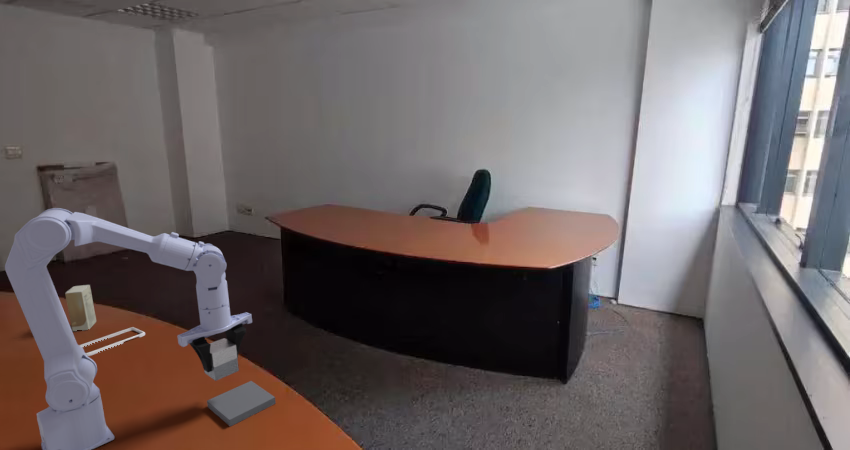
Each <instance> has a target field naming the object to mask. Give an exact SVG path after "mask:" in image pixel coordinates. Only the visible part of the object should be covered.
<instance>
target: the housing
mask: <svg viewBox="0 0 850 450" xmlns="http://www.w3.org/2000/svg"><path fill="white" fill-rule="evenodd" d="M209 344H211V346H210V361H211V372H207V371H205V370H204V369H203V370H204V372H203V373H204V374H205V375H207V376H208V377H210V378H211V379H212V380H214V381H215V382H217V381H219V380H222V379H223V378H226V377H228V376H230V375H233V374H235V373H238V372H239V371H240V368H239V360H238V359H239V358H238V359H237V350H236V345H235V344H234V343H232V342H230V341H229V340H227V338H221V339H218V340H215V341H213V342H210V343H209Z"/></svg>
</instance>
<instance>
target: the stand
mask: <svg viewBox="0 0 850 450" xmlns="http://www.w3.org/2000/svg"><path fill="white" fill-rule="evenodd" d="M276 404H277V403H276V397H275V396H274V395H273V394H271V393H270V392H268V391H267V390H265V389H264V388H263V387H261V386H259V385H258V384H257V383H255V382H254V381H252V380H250V381H248V382H246V383H243V384H240V385H239V386H237V387H234V388H232V389H230V390H228V391H225V392H223V393H221V394H218V395H216V396H214V397H212V398H209V399H208V400H206V406H207V408H208V409H210V410H211V412H213V413H214V414H215V415H216V416H217V417H218V418H220V419H221V420H222V422H224V423H225V424H227V425H228V426H229V427H232V426H234V425H236V424H238V423H240V422H243V421H244V420H246V419H248V418H250V417H252V416H254V415H256V414H257V413H259V412H262V411H264V410H265V409H267V408H269V407H271V406H273V405H276Z"/></svg>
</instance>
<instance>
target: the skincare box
mask: <svg viewBox="0 0 850 450" xmlns="http://www.w3.org/2000/svg"><path fill="white" fill-rule="evenodd" d="M64 294H65V300H66V305H67V310H68V314H69V315H68V316H69V319H70V320H69V321H70V327H71V330H72V332H78V331H77V330H82V331H88V329H89V330H90V329H91V328H92V327H93V326H94V325H95V324H96V323H97V316H96V312H95V307H94V301H93V295H92V289H91V284H83V285H75V286H72V287H71V288H70V289H68V290H67V291H65V293H64Z"/></svg>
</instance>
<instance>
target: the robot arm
mask: <svg viewBox="0 0 850 450" xmlns="http://www.w3.org/2000/svg"><path fill="white" fill-rule="evenodd" d="M179 236H180V235H179V233H177V232H174V231H172V232H171V233H170V234H168V233H166V232H164V233H160V234H158V235H155V236H153V235H149V234H146V233H144V232H140V231H139V230H138V231H137V230H135V229H132V228H128V227H126V226H122V225H120V224H117V223H114V222H111V221H108V220H105V219H103V218H99V217H96V216H93V215H90V214H88V213H87V214H86V213H83V212H78V211H74V212H72V211H70V210H69V209H65V208H60V207H53V208H48V209H46V210H43V211H42V212H41V213H40V214H39V215H37V216H36V217H34V218H31V219H30V220H28V221H27V222H26V223H25V224H24V225H22V227H21V228H20V229H19V230H18V231H17V232H16V233H15V234H14V238H13V243H12V245H11V249H10V251H9V254H8V257H7V259H6V262H5V265H4V270H5V272H6V275H7V277H8V280H9V282H10V285H11V287H12V289H13V291H14V293H15V297H16V298H17V301H18V304H19V306H20V307H21V311H22V312H23V315H24V318H25V320H26V321H27V324H28V326H29V329H30V332H31V334H32V336H33V338H34V341H35V343H36V345H37V347H38V350H39V352H40V354H41V357H42V359H43V368H44V369H43V370H44V371H43V372H44V373H43V374H44V375H43V376H44V380H45V384H46V392H45V401H46V403H47V404H48V407H46V408H45V409H43V410H41V411H39V412H36V421H37V424H38V425H37V426H38V428H39V429H38V430H39V435H40V437H41V438H40V440H41V442H40V444H41V450H94V449H96V448H98V447H100V446H102V445H104V444H107V443H109V442H111V441H113V440H115V435H114V434H113V432H112V431H111V429H110V428H109V427H108V425H107V423H106V418H105V413H104V409H103V408H104V406H103V401H102V397H101V396H102V395H101V392H100V388H99V387H98V386H97V385H96V384H95V383H94V379H95V378H96V376H97V373H98V366H97V363H96V361H94V359H92V358H91V357H90V356H87V355H86V354H85V353H86V352H85V349H84V347H81V346H79V345H80V344H78V342H77V339H76V337H75V335H74V333H73V332H74V331H72V326H71V324H70V323H69V320H68V318H67V315H66V312H65V311H64V308H63V305H62V302H61V300H60V298H59V296H58V293H57V290H56V287H55V285H54V282H53V280H52V278H51V275H50V273H49V270H48V267H47V266H48V264H49V263H50V261H52V259H53V257H55V256H56V255H57V254H58V253H60V252H61V251H62V250H64V249H65V248H67V246H68V245H69V244H70V242H71V241H74V247H79V246H83V245H87V244H91V243H96V242H99V243H103V244H108V245H112V246H116V247H121V248H125V249H128V250H133V251H136V252H142V253H144V254H145V253H146V254H147V255H148V257H149V258H150V260H151V262H153V263H156V264H160V265H164V266H168V267H172V268H175V269H177V270H178V269H179V270H183V271H186V272H189V271H191V272H192V271H193V272H194V274H195V278H196V284H195V288H196V289H195V290H196V299H197V306H198V307H197V308H198V313H199V314H198V315H199V322H200V324H199V325H197V326H195V327H193V328H191V329H189V330H187V331H186V332H182V333H180V334H177V343H178V345H179V346H181V348H184V347H187V346H188V345H190V346H191V348H192V349H193V350H194V352H195V353H196V355H197V356H198V358H199V360H200V363H201V365H202V368H203V370H205V371H207V372H211V361H210V346H211V344H210V343H209V342H208V341H207V339H206V338H208V337H211V336H214V335H216V334H221V333H224V332H225V336H226V339H227V340H229V341H230V342H232V343H234V344H235V345H236V350H237V359H239V354H240V347H241V344H242V343H243V342H242V341H243V339H244V337H245V335H246V334H247V328H246V327H244V325H245V324H247V325H249V324H252V323H253V318H252V313H249V312H246V311H245V312H243V313H240V314H239V313H238V314H234V315H231V308H230V299H229V290H228V289H229V288H228V281H227V280H226V277H227V276H226V270H227V262H226V258H225V257H224V255H223V252H222V251H221V249H220V248H218V247H217V246H215V245H213V244H212V243H205V242H204V241H198V242H196V241H191V240H188V239H186V238H182V237H179Z"/></svg>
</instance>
